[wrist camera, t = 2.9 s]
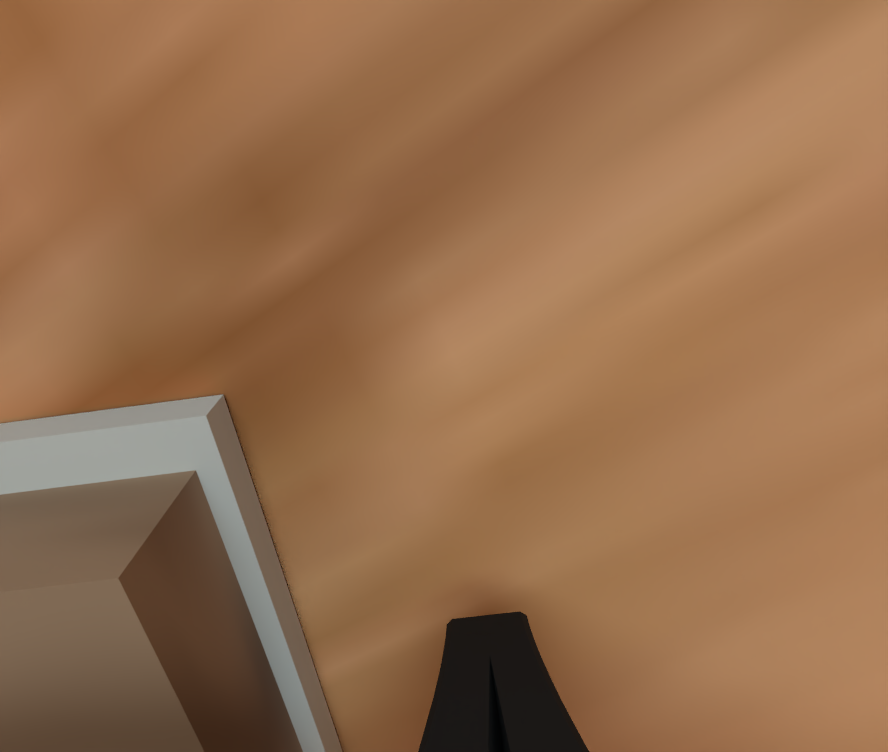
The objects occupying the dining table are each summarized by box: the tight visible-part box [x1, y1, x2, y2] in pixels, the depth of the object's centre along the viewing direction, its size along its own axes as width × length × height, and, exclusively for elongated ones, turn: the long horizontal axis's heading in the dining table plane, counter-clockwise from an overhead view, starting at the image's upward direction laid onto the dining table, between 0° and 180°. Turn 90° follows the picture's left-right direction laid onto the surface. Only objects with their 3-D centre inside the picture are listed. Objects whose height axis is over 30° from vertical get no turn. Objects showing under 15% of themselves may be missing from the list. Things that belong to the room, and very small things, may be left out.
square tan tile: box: [0, 470, 303, 752], centre depth 10 cm, size 8×8×2 cm
